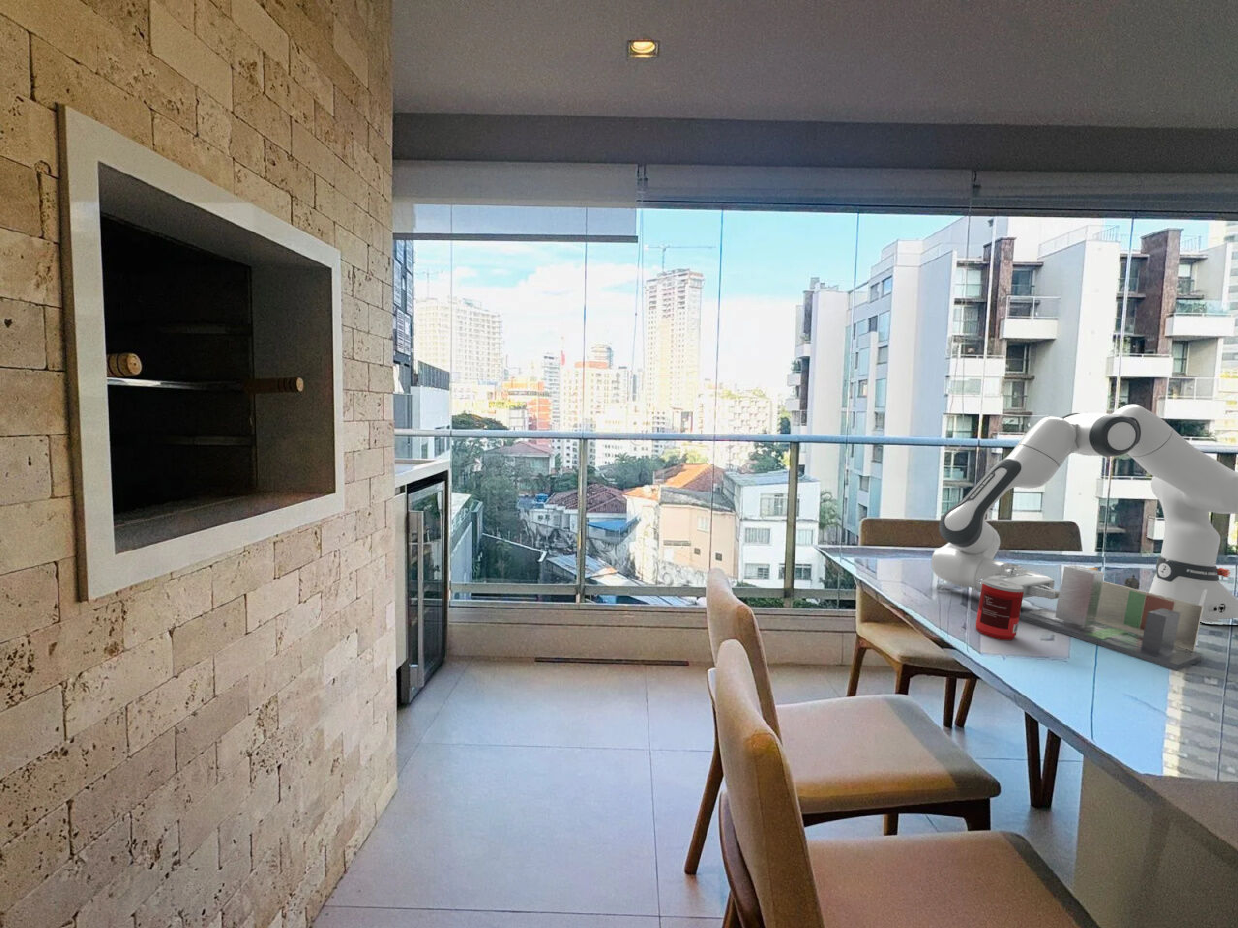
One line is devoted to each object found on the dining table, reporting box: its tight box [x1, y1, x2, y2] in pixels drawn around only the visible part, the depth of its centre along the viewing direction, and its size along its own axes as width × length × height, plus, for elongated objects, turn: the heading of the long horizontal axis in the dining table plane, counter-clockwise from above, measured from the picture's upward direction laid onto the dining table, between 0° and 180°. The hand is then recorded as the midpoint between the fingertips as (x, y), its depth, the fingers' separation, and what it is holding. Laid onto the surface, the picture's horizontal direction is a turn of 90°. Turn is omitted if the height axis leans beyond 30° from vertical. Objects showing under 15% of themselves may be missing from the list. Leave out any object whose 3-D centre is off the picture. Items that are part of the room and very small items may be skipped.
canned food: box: [974, 578, 1024, 641], centre depth 140 cm, size 8×8×11 cm
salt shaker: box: [1123, 574, 1141, 590], centre depth 160 cm, size 6×6×12 cm
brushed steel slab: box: [1055, 564, 1105, 627], centre depth 151 cm, size 6×8×12 cm
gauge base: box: [1019, 580, 1204, 671], centre depth 147 cm, size 30×21×10 cm
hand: (1056, 595), depth 154 cm, fingers closed
